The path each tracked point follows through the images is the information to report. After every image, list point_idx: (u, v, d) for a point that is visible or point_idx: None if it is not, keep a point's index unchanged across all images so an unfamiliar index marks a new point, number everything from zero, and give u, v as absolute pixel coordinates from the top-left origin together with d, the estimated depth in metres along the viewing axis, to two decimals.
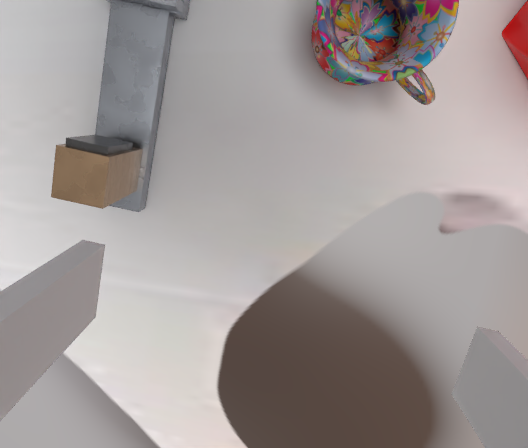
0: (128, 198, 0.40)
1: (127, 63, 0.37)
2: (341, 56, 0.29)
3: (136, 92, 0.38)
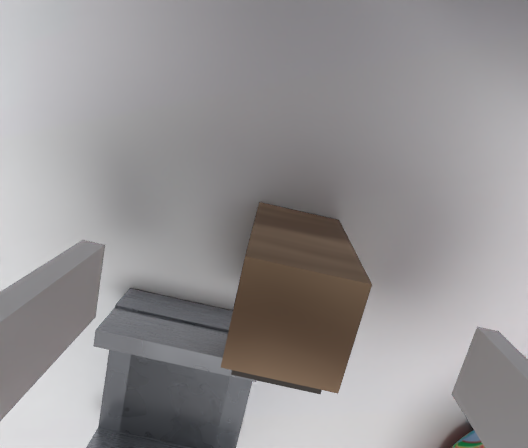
0: None
1: None
2: None
3: None
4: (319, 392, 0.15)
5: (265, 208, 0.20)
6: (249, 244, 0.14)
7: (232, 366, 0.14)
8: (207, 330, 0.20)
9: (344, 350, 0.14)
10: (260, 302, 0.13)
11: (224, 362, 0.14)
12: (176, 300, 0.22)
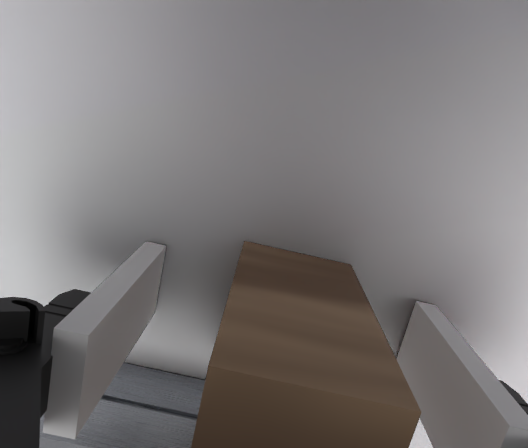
0: None
1: None
2: None
3: None
4: None
5: (251, 252, 0.14)
6: (219, 333, 0.09)
7: None
8: (172, 418, 0.15)
9: None
10: (235, 438, 0.08)
11: None
12: (135, 368, 0.17)
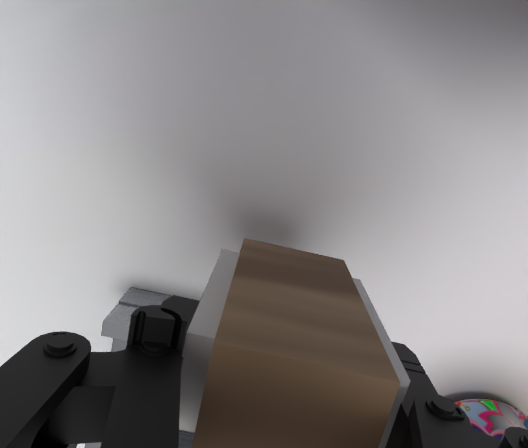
0: None
1: None
2: None
3: None
4: None
5: (251, 248, 0.16)
6: (223, 316, 0.10)
7: None
8: None
9: None
10: (236, 407, 0.09)
11: None
12: None
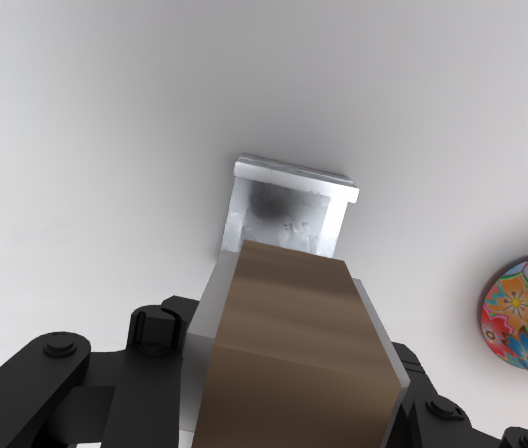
0: None
1: None
2: None
3: None
4: None
5: (251, 249, 0.15)
6: (222, 318, 0.10)
7: None
8: (311, 174, 0.26)
9: None
10: (236, 410, 0.09)
11: None
12: (279, 162, 0.28)
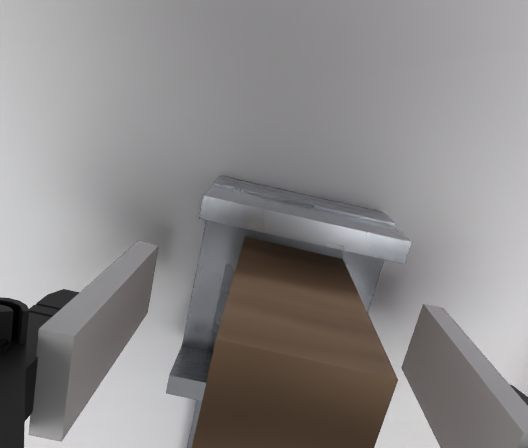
0: None
1: None
2: None
3: None
4: None
5: (252, 246, 0.16)
6: (225, 313, 0.10)
7: None
8: (328, 212, 0.16)
9: None
10: (238, 402, 0.09)
11: None
12: (277, 189, 0.18)
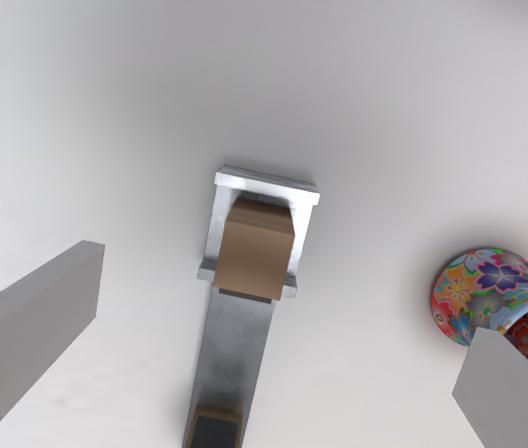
0: None
1: (230, 334, 0.34)
2: None
3: (238, 361, 0.35)
4: (270, 303, 0.25)
5: (241, 199, 0.30)
6: (228, 216, 0.25)
7: (219, 285, 0.24)
8: (280, 182, 0.31)
9: (282, 274, 0.24)
10: (234, 247, 0.24)
11: (214, 283, 0.24)
12: (255, 172, 0.33)
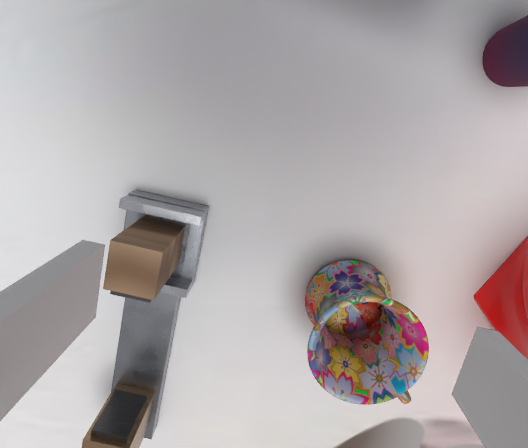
0: None
1: (142, 325, 0.42)
2: (329, 383, 0.34)
3: (149, 347, 0.43)
4: (149, 301, 0.34)
5: (143, 219, 0.38)
6: (116, 236, 0.33)
7: (108, 288, 0.33)
8: (176, 205, 0.39)
9: (154, 280, 0.32)
10: (117, 259, 0.32)
11: (104, 286, 0.33)
12: (161, 196, 0.41)
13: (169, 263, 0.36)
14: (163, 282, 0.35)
